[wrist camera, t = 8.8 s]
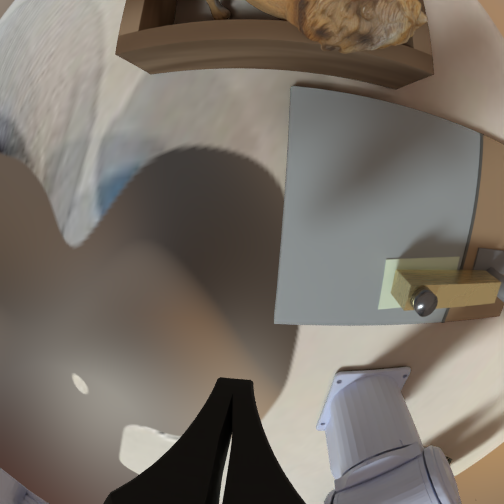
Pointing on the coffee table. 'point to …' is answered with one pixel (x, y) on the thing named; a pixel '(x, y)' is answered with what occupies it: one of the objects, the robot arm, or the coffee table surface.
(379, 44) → the lion figurine
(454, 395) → the coffee table surface
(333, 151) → the door board
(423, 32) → the display tray
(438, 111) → the coffee table surface
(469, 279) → the latch bar
